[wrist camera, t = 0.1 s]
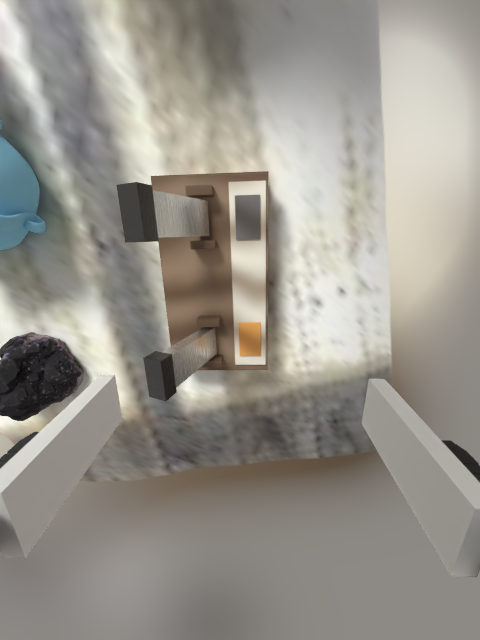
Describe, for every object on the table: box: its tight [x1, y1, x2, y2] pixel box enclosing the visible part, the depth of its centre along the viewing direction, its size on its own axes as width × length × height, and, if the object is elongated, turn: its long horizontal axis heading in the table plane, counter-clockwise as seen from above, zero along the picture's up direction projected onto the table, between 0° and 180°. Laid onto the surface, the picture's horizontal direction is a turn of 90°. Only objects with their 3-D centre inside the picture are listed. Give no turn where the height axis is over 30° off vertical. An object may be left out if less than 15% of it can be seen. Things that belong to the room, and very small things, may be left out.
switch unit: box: [151, 171, 268, 370], centre depth 37 cm, size 26×14×7 cm, turn 2°
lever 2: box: [144, 327, 217, 401], centre depth 32 cm, size 5×2×12 cm, turn 2°
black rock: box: [0, 332, 83, 421], centre depth 42 cm, size 13×14×10 cm
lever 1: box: [117, 182, 210, 242], centre depth 27 cm, size 5×2×12 cm, turn 2°
